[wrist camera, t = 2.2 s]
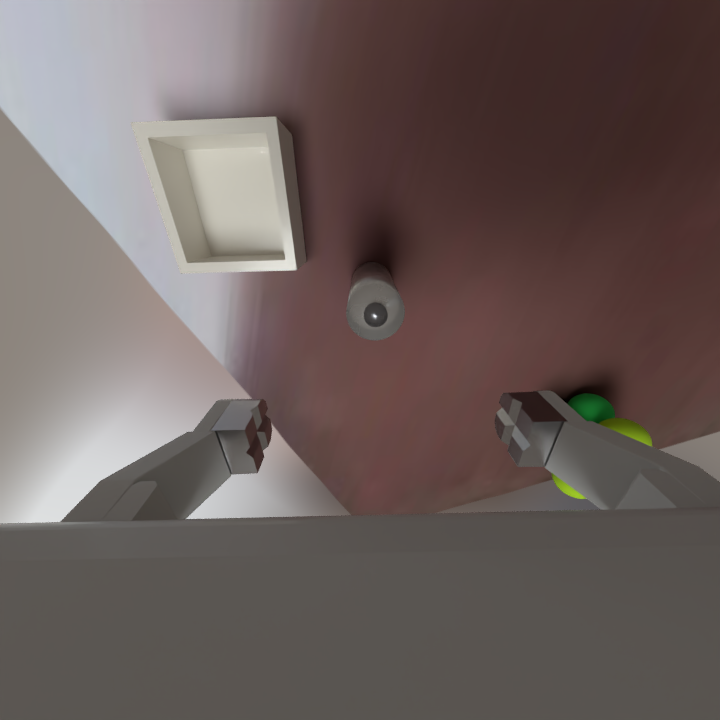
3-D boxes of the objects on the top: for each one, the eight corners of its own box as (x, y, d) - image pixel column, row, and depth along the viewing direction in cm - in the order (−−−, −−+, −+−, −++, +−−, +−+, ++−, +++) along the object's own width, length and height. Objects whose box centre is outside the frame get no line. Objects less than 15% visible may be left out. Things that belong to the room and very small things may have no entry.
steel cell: (391, 261, 26) (407, 285, 17) (390, 302, 28) (404, 342, 19) (350, 262, 26) (344, 286, 17) (352, 303, 28) (347, 343, 19)
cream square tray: (291, 134, 22) (275, 116, 18) (306, 261, 26) (296, 270, 22) (172, 139, 22) (130, 122, 18) (208, 264, 26) (180, 273, 22)
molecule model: (595, 381, 32) (519, 402, 34) (669, 434, 25) (566, 458, 26) (594, 433, 36) (525, 450, 38) (657, 492, 28) (568, 511, 30)
